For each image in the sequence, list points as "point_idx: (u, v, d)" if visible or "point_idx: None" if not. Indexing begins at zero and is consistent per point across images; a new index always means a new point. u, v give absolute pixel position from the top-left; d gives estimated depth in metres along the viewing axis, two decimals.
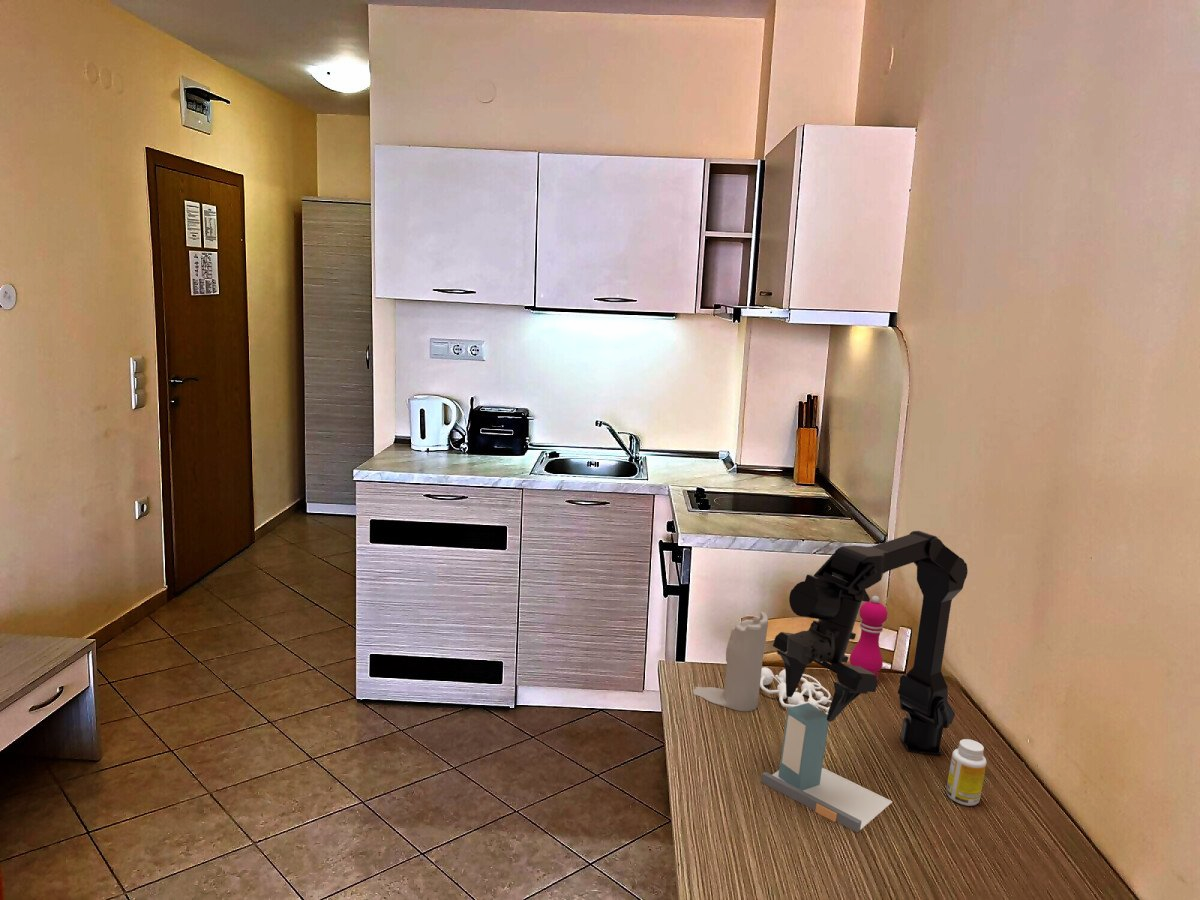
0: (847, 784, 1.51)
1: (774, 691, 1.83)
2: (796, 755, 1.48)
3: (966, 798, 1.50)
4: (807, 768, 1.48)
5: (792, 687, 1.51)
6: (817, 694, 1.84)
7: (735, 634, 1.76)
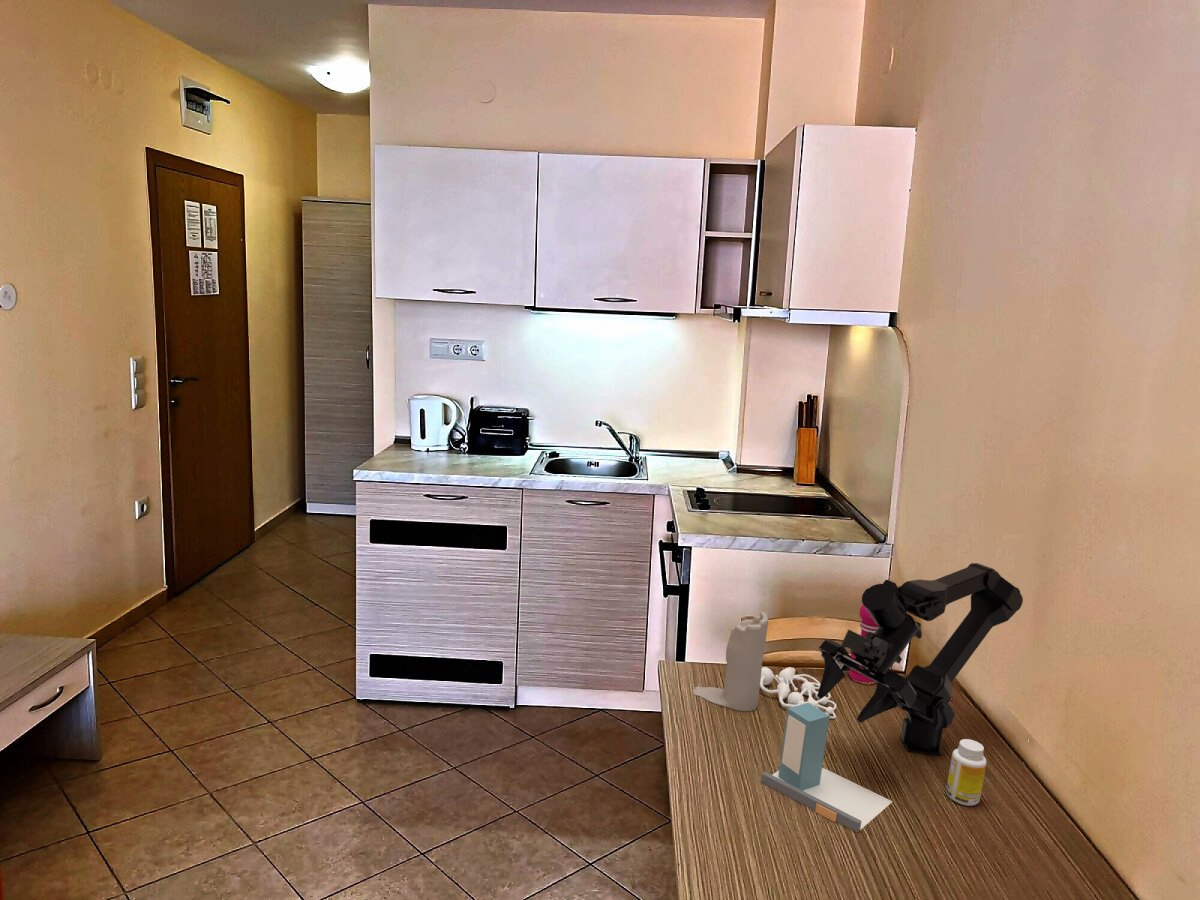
0: (847, 784, 1.51)
1: (774, 691, 1.83)
2: (796, 755, 1.48)
3: (966, 798, 1.50)
4: (807, 768, 1.48)
5: (825, 690, 1.57)
6: None
7: (735, 634, 1.76)
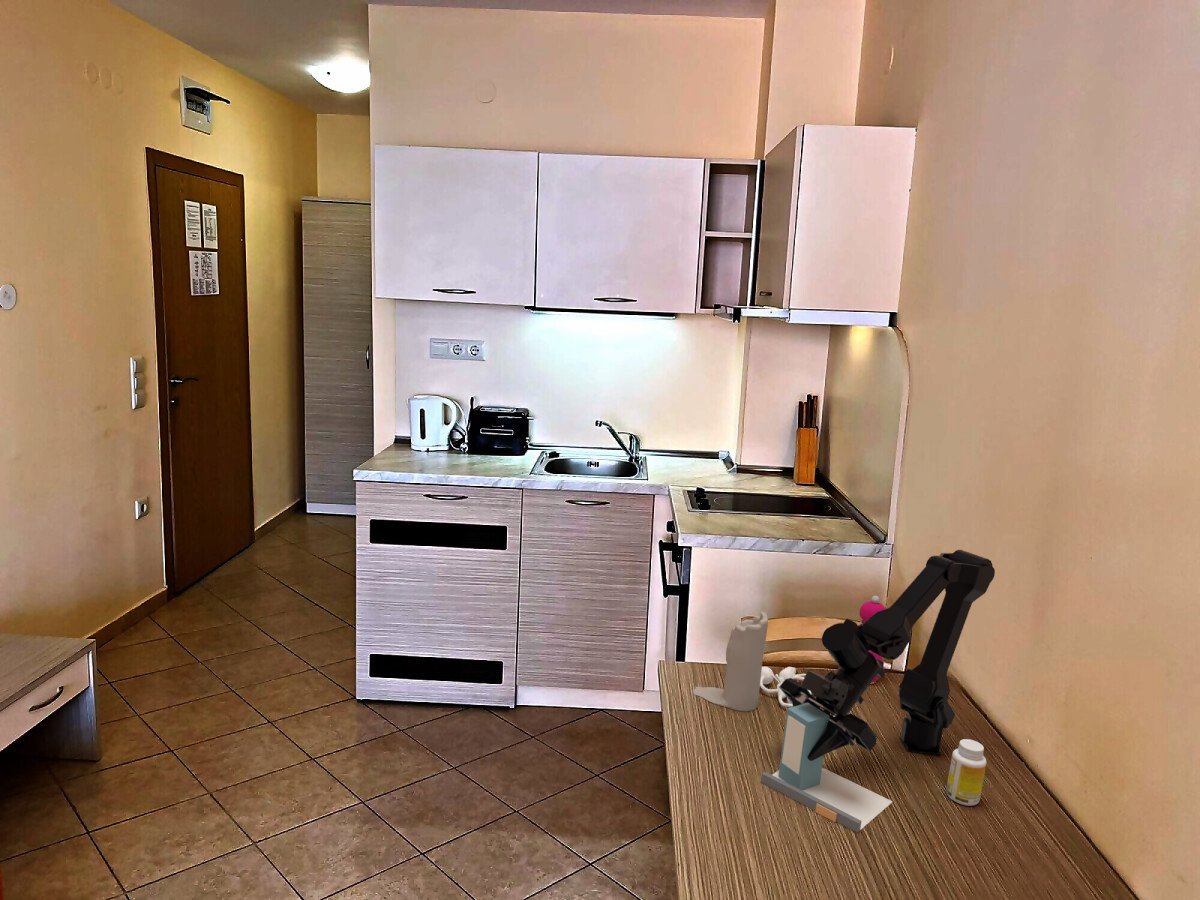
0: (847, 784, 1.51)
1: (773, 690, 1.84)
2: (796, 756, 1.48)
3: (966, 798, 1.50)
4: (807, 768, 1.48)
5: None
6: None
7: (735, 634, 1.76)
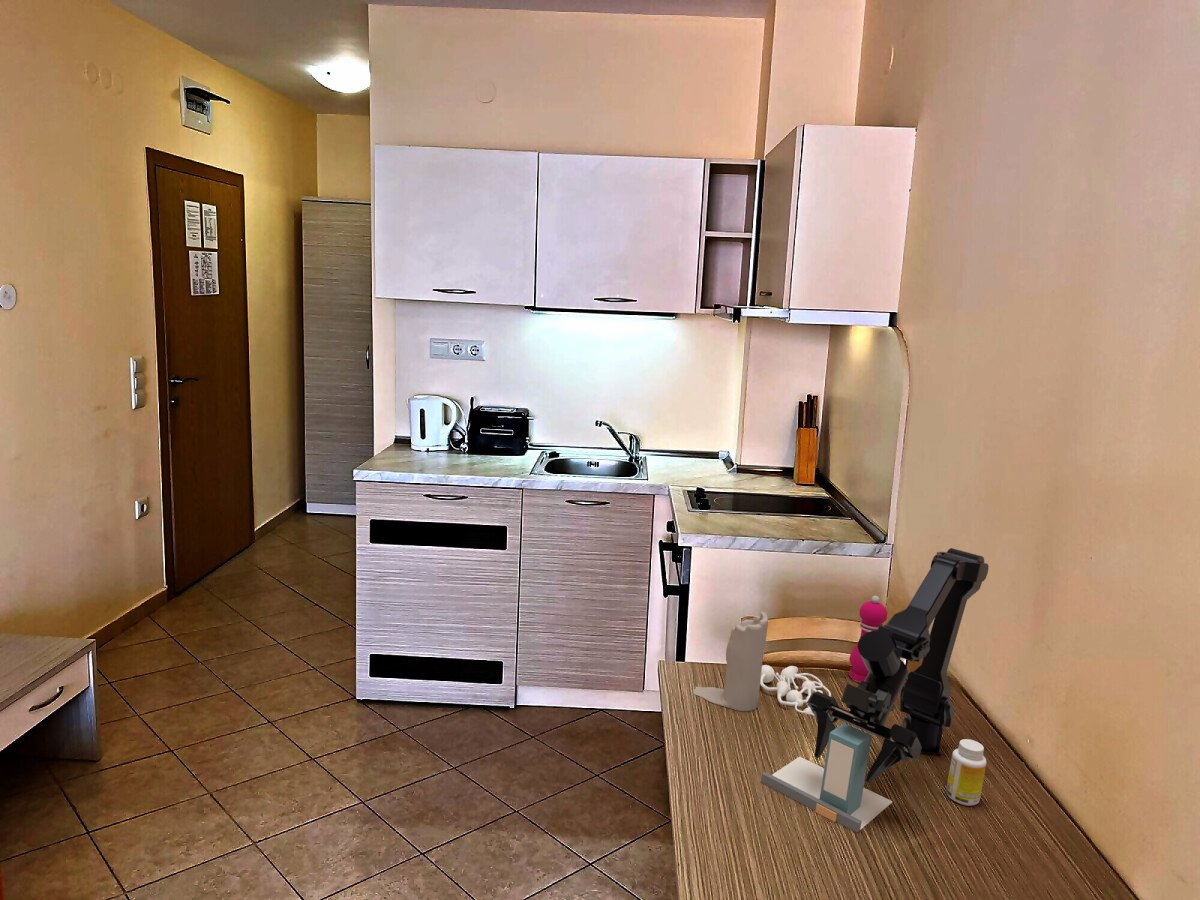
0: None
1: (773, 688, 1.84)
2: (842, 781, 1.41)
3: (966, 798, 1.50)
4: (853, 792, 1.41)
5: (821, 748, 1.46)
6: None
7: (735, 634, 1.76)
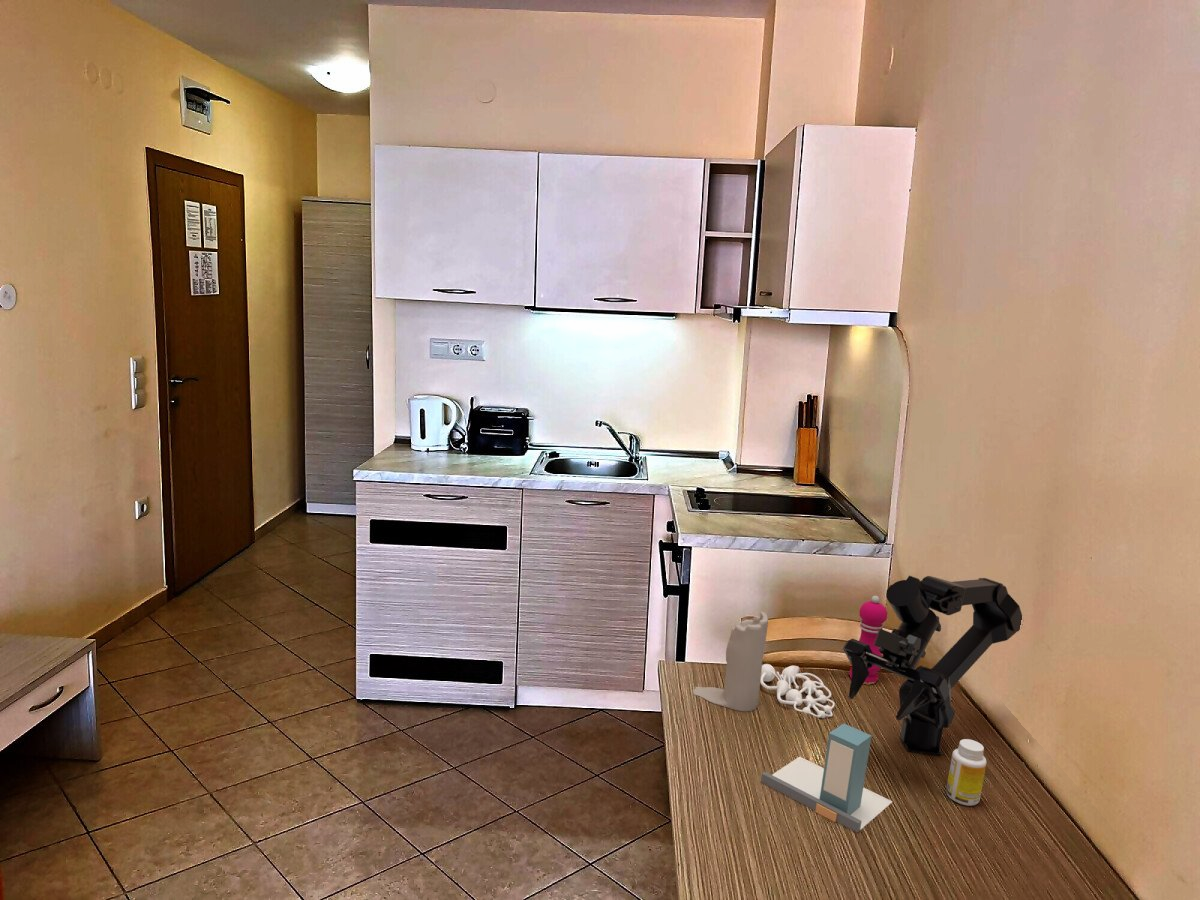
0: None
1: (773, 687, 1.85)
2: (842, 781, 1.41)
3: (966, 798, 1.50)
4: (853, 792, 1.41)
5: (855, 690, 1.57)
6: (817, 692, 1.84)
7: (735, 634, 1.76)
